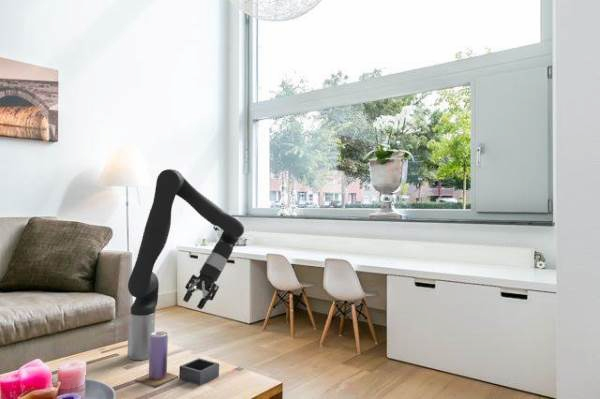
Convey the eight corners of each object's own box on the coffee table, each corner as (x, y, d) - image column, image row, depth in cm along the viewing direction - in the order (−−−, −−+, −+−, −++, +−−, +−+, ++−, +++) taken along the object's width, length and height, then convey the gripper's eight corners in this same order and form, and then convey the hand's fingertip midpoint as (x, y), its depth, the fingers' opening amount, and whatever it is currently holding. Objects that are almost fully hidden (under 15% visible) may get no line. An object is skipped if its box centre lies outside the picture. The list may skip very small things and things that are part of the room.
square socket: (179, 379, 152) (179, 366, 152) (198, 370, 160) (198, 358, 160) (200, 385, 147) (200, 372, 147) (218, 376, 155) (219, 363, 155)
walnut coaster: (135, 380, 149) (135, 379, 149) (158, 371, 158) (158, 369, 158) (156, 387, 144) (156, 385, 144) (178, 377, 153) (178, 375, 153)
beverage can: (161, 381, 148) (162, 337, 148) (145, 379, 149) (146, 335, 149) (169, 374, 154) (171, 332, 154) (154, 373, 155) (155, 330, 155)
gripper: (196, 258, 171) (174, 295, 166) (219, 267, 162) (197, 307, 157) (207, 266, 176) (186, 302, 171) (231, 275, 167) (210, 314, 162)
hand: (192, 304), depth 164 cm, fingers open, 8 cm apart
